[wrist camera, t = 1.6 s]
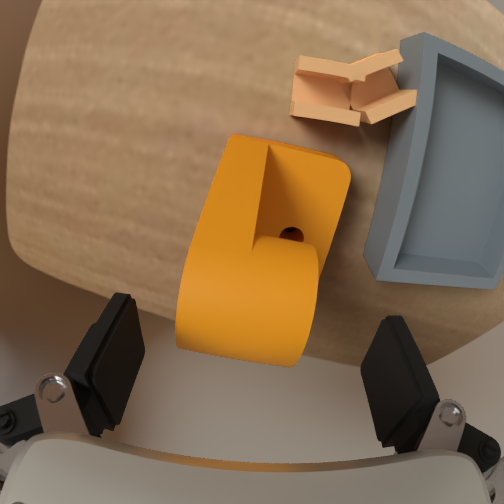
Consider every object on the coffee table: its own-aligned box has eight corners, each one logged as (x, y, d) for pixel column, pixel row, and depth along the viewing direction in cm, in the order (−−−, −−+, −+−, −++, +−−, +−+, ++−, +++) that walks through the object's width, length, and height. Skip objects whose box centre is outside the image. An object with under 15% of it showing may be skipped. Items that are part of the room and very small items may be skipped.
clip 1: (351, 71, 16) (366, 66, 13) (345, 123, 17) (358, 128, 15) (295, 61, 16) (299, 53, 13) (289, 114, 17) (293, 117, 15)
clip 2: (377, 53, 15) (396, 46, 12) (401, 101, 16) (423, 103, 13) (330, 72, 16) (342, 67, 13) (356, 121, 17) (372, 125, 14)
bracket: (304, 289, 24) (320, 424, 13) (213, 273, 23) (175, 404, 13) (344, 156, 19) (428, 233, 8) (235, 132, 18) (185, 180, 8)
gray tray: (519, 96, 14) (547, 101, 11) (476, 267, 22) (495, 289, 19) (400, 40, 14) (424, 32, 11) (362, 254, 22) (375, 280, 19)
